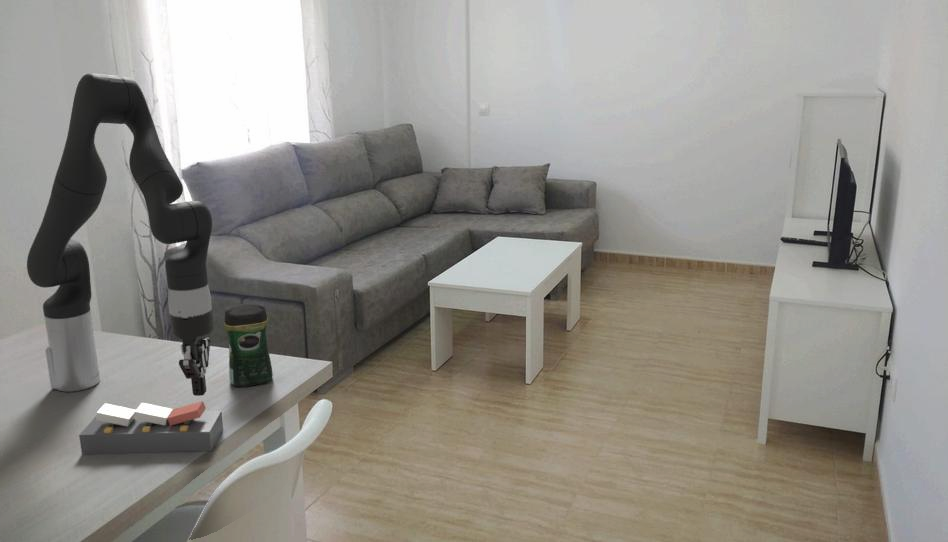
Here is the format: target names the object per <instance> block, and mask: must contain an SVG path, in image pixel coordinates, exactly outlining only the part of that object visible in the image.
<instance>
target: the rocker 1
mask: <svg viewBox="0 0 948 542" xmlns="http://www.w3.org/2000/svg"><path fill="white" fill-rule="evenodd" d="M135 410H136V409H134V408H130V407H125V406H121V405H115V404H110V403H106V402H104V404H103V405H102V406H101V407H100V408H99V409H98V411H96V415H95V417H96V420H99V421H103V422H108V423H113V424H118V425H123V426H129V424H130V423H131V422H132V421H133V418H134V412H135Z"/></svg>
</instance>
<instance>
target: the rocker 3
mask: <svg viewBox="0 0 948 542" xmlns="http://www.w3.org/2000/svg"><path fill="white" fill-rule="evenodd" d="M206 408H207V407H206V404H205V403H204V401H198V402H195V403H191V404H187V405H183V406H181V407H180V406H178V407H176V408H172V409H173V411H172V412H171V413H170V415H169V416H168V418H167V419H168V422H169V424H170V425H174V424H178V423H182V422H185V421H189V420H193V419H196V418H200V417H201V415H202V414H203V412H204V411H206Z"/></svg>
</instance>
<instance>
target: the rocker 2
mask: <svg viewBox="0 0 948 542" xmlns="http://www.w3.org/2000/svg"><path fill="white" fill-rule="evenodd" d="M173 409H174V408H171V407H165V406H161V405H156V404H151V403H147V402H141V403H140V404H139V406H137V408H136V409H135V412H134V418H133V419H136V420H140V421H145V422H150V423H155V424H160V425H164V426H165V425H166V424H167V422H168V419H167V418H168V416H169V415H170V413H171V412H172V411H173Z"/></svg>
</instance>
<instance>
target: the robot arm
mask: <svg viewBox="0 0 948 542" xmlns="http://www.w3.org/2000/svg"><path fill="white" fill-rule="evenodd" d="M73 97H74V98H73V103H72V108H71V114H70V119H69V125H68V131H67V136H66V141H65V145H64V146H63V147H64V148H63V151H62V155H61V158H60V161H59V165H58V167H57V170H56V174H55V176H54V179H53V184H52V188H51V191H50V196H49V199H48V203H47V206H46V209H45V211H44V215H43V218H42V221H41V223H40V225H39V228H38V231H37V233H36V235H35V237H34V240H33V242H32V244H31V246H30V248H29V252H28V255H27V260H26V269H27V275H28V277H29V280H30V281H31V282H32V283H33V284H34V285H35V286H37V287H40V288H44V289H45V288H53V287H57V286H58V287H57V289H56V291H55V292H54V293H53V294H52V295H51V296H49V298H47V299H46V300H45V301H44V302H43V304H42V310H43V315H44V316H43V317H44V324H45V329H46V334H47V335H46V336H47V343H48V347H47V348H46V349H45V355H46V356H45V357H46V363H47V370H48V371H47V372H48V377H49V383H50V389H51V390H57V391H61V392H67V393H68V392H77V391H82V390H87V389H90V388H92V387H95V385H97V384H99V382H100V381H101V377H100V370H99V363H98V355H97V348H96V347H97V346H96V340H95V333H94V326H93V319H92V318H93V317H92V311H91V301H92V285H91V284H92V282H91V270H90V268H91V267H90V262H89V257H88V254H87V252H86V249H85V248H84V246H83V245H82V244H81V243H80V242H79V241H77V240H75V239H72V237H74V235H75V234H76V232H77V233H78V230H79V229H81V228H82V227H83V226H84V225H85V224H86V222H88V221H89V219H90V218H91V217H92V216H93V215H94V213H95V212H96V211H97V209H98V208H99V206H100V204H101V201H102V199H103V198H102V197H103V196H104V192H105V189H106V186H107V180H108V176H107V172H106V168H105V165H104V163H103V161H102V158H101V157H100V155H99V152H98V151H97V147H96V144H95V138H96V133H97V129H98V126H99V125H101V124H117V125H126V126H127V127H128V129H129V131H130V132H131V134H132V135H133V143H132V145H131V148H130V154H129V161H128V162H129V169H130V172H131V175H132V178H133V179H134V182H135V183H136V185H137V186H138V189H139V191H140V192H141V194H142V196H143V198H144V199H143V200H144V202H145V205H146V209H147V215H148V222H149V227H150V232H151V234H152V236H153V237H154V239H156V240H157V241H158V242H160V243H162V244H164V245H172V244H180V243H184V242H185V245H184V247H183V248H182V249H181V250H180V251H178V252H176V253H174V254H172V255H170V256H169V257H167V258H166V260H165V273H166V274H165V275H166V282H167V305H168V314H169V321H170V322H169V323H170V329H171V330H170V331H171V334H172V336H174V337H175V338H179V339H180V340H181V341H182V344H181V345H180V350H181V354H182V355H183V359H179V360H178V365H179V367H180V370H181V371H182V373H183V375H184V376H185V379H186V380H189V379H190V381H191V382H190V383H191V388H192V395H194V396H195V397H197V396H198V397H200V396H204V395H205V394H206V393H207V384H206V383H207V382H206V381H207V380H206V374H207V368H209V359H210V351H211V350H210V349H211V342H212V341H211V337H206V336H208V335H209V334H210V333H211V334H212V332H213V331H214V329H215V326H214V317H213V306H212V297H211V296H212V295H211V292H210V287H209V281H208V270H207V260H208V259H207V258H208V254H209V253H208V252H209V244H210V241H211V237H212V229H213V219H212V215H211V211H210V209H209V208H208V207H207V206H206V204H205V203H203V202H201V201H199V200H192V201H191V200H190V201H184V202H177V203H174V202H176V201H178V199H180V197H181V196H182V195H183V192H184V185H183V183H182V181H181V179H180V177H179V176H178V174H177V173H176V171H175V169H174V167H173V165H172V164H171V163H172V162H170V160H169V159H168V157H167V155H166V153H165V151H164V148H163V146H162V143H161V140H160V138H159V135H158V131H157V129H156V125H155V123H154V119H153V117H152V115H151V112H150V109H149V106H148V104H147V103H148V102H147V100H146V98H145V96H144V93H143V91H142V88H141V87H140V85H139V84H138V82H137V81H135V80H134V79H133V78H131V77H128V76H121V75H115V74H114V75H113V74H105V73H94V72H93V73H90V72H89V73H86V74H84V75H82V77H81V78H80V80H79V81H78V84H77V86H76V89H75V93H74V96H73Z"/></svg>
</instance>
